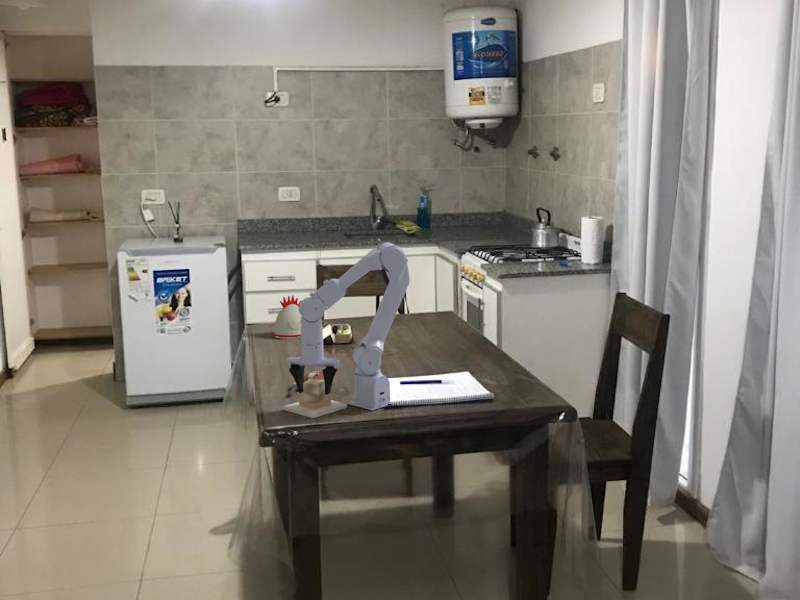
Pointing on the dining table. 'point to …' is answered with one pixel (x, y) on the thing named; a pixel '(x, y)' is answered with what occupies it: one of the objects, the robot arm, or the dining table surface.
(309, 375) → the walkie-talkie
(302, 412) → the base plate
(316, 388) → the birch block
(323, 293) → the robot arm
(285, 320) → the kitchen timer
